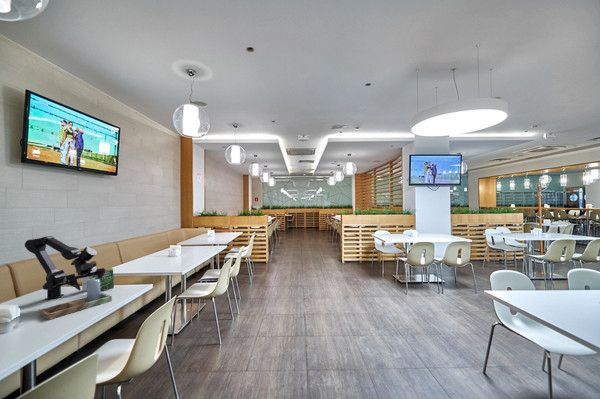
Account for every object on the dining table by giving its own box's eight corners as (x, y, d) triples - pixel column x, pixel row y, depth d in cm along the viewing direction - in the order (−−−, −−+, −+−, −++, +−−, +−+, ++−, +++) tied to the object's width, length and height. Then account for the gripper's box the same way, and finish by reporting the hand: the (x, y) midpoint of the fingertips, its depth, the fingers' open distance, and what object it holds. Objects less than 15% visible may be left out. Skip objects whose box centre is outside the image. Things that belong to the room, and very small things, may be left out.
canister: (91, 301, 148) (90, 279, 148) (102, 299, 149) (102, 278, 150) (84, 305, 142) (84, 282, 142) (96, 303, 144) (96, 281, 144)
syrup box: (89, 291, 166) (88, 268, 166) (81, 290, 167) (81, 268, 167) (97, 288, 171) (97, 266, 171) (90, 287, 172) (89, 266, 173)
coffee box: (99, 291, 164) (99, 271, 164) (97, 290, 166) (97, 270, 166) (114, 287, 171) (113, 268, 171) (112, 287, 172) (111, 267, 173)
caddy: (47, 320, 125) (47, 314, 125) (39, 314, 131) (39, 310, 131) (111, 300, 148) (111, 296, 148) (101, 296, 154) (101, 292, 154)
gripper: (64, 261, 143) (73, 283, 137) (103, 254, 159) (112, 274, 153) (59, 273, 147) (67, 296, 141) (98, 265, 163) (106, 285, 157)
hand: (89, 287), depth 148 cm, fingers open, 9 cm apart
